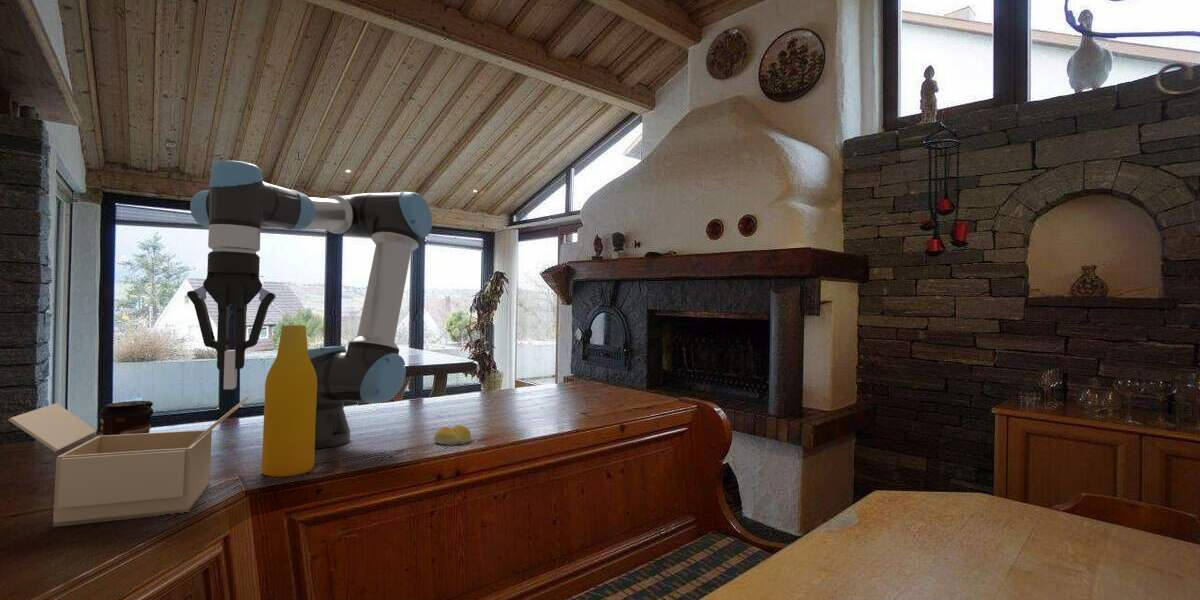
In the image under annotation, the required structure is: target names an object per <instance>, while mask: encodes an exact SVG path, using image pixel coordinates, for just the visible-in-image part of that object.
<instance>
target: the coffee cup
mask: <svg viewBox="0 0 1200 600" xmlns="http://www.w3.org/2000/svg"><path fill="white" fill-rule="evenodd" d="M153 405H154V403H153V402H152V401H151V400H129V401H118V402H112V403H108V404H106V405H105V406H104V408H103V410H101V411H100V412H99V413H98V414H97V417H98V418H99V421H100V436H105V435H123V434H142V433H150V431H151V427H152V425H151V423H150V422H151V419H152V418H151V416H152V415H153V414H154V409H153V408H152V407H153Z"/></svg>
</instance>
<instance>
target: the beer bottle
mask: <svg viewBox="0 0 1200 600" xmlns="http://www.w3.org/2000/svg"><path fill="white" fill-rule="evenodd" d="M280 329H281V330H280V336H279V340H278V341H279V342H278V349H277V354H276V357H275V358H274V361H273V363H272V364H271V366H270V367H269V370H268V372H267V375H266V379H265V383H264V384H265V385H264V403H263V406H264V407H263V429H262V430H263V432H262V452H261V472H262V474H263V475H264V476H266V477H273V478H282V477H283V478H284V477H293V476H298V475H303V474H306V473H308V472H310V471H312V470H313V469H314V466H315V460H316V457H315V456H316V454H315V453H316V452H315V449H316V448H315V425H316V400H317V376H316V372H315V369H314V367H313V365H312V363H311V361H310V359H309V355H308V349H309V348H308V337H307V335H308V334H307V326H306V325H305V324H303V325H302V324H301V325H299V324H297V325H296V324H284V325H282V326H281V328H280Z"/></svg>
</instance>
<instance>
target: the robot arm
mask: <svg viewBox="0 0 1200 600" xmlns="http://www.w3.org/2000/svg"><path fill="white" fill-rule="evenodd" d="M209 179H210V180H209V184H208V188H209V189H206V190H204V189H203V190H200V191H198V192H196V193H194V195H193V197H192V198H191V200H190V204H189V205H190V208H189V209H190V213H191V216H192V219H194V221H195V222H196V223H197V224H198V225H200V226H201V227H204V228H207V229H208V239H207V240H208V241H207V245H208V248H209V249H211V250H212V251H209V253H207V268H206V269H207V270H206V272H207V273H206V274H207V275H206V278H205V279H204V281H203V283H202V286H199V287H197V288H196V289H194V290H189V291H187V293H186V297H188V298H189V300H190V301H191V303H192V304H193V306H194V310H195V313H196V317H197V321H198V326H199V329H200V332H201V336H202V340H203V344H204V346H205V347H207V348H210V349H213V350H215V351H216V353H217V354H216V368H217V369H218V370H223V390H235V389H236V388H237V386H238V385H237V384H238V383H237V382H238V370H242V369H244V366H245V363H246V362H245V358H246V357H245V356H246V350H247V349H248V348H251V347H255V346H256V345H257V344H258V342H259V338H260V335H261V332H262V331H263V330H262V328H263V325H264V323H265V320H266V316H267V313H268V310H269V307H270V305H271V304H272V303H273V302H274V300H275V299H276V293H273V292H270V291H268V290H267V289H265V288H263V283H262V281H261V280H260V259H261V258H260V256H259V255H258V252H259V251H260V250H261V230H262V229H278V230H279V229H280V230H281V229H285V230H294V231H295V230H298V231H301V230H327V231H328V232H329V233H331V234H335V235H336V234H337V235H350V236H357V237H363V238H370V239H371V240H372V242H373V243H374V244H375V247H374V248H375V249H374V253H373V257H372V258H373V259H372V261H371V262H372V263H371V268H370V273H369V277H368V282H367V287H366V293H365V296H364V302H363V306H362V309H361V310H362V311H361V316H360V321H359V325H358V330H357V333H356V334H357V335H356V337H354V338H353V339H351V340H350V341H348V345H347V348H346V346H344V345H339V346H338V345H334V346H323V347H314V348H308V355H309V359H310V361H311V363H312V365H313V367H314V369H315V372H316V376H317V400H316V425H315V449H324V448H325V449H326V448H330V447H337V446H340V445H341V446H342V445H344V444H346V443H348V442H350V441H351V429H350V426H349V423H348V419H347V417H346V412H345V408H344V406H345V405H344V404H345V403H344V402H355V403H356V402H359V403H366V404H373V403H386V402H389V401H391V400H392V399H394V398H395V396H396V395H398V393H400V390H401V389H402V388H403V384H404V382H405V379H406V373H407V368H406V367H405V365H406V362H405V359H404V358H403V356H401V355H400V348H399V346H398V345H397V344H396V343H395V339H396V334H397V330H398V329H397V328H398V324H399V318H400V314H401V307H402V303H403V298H404V292H405V286H406V282H407V281H406V280H407V276H408V270H409V264H410V259H411V256H412V255H411V254H412V252H414V251H415V250H417V249H418V248H419V246H420V240H421V238H422V239H423V238H427V237H428V236H429V235H430V234H431V232H432V229H433V228H432V227H433V218H432V212H431V209H430V206H429V204H428V202H427V200H426V199H425V198H424V197H423V195H421V194H420V193H418V192H413V191H412V192H411V191H400V192H399V191H398V192H367V193H356V194H350V195H349V194H348V195H347V194H346V195H329V196H328V197H326V198H325V197H324V198H323V197H322V198H321V197H312V196H310V197H309V196H308V195H306V194H305V193H303V192H300V191H297V190H295V189H289V188H285V187H282V186H278V185H276V184H271V183H268V182H265V181H264V177H263V170H262V169H261V168H260V167H259V166H257V165H256V164H253V163H251V162H250V163H249V162H245V161H239V160H219V161H218V160H217V161H215V162H214V163H213V164H212V166H211V171H210V177H209ZM207 293H208V294H209V296H210V297H211V298H212V299H213V300H214V302H215V303H216V304H217V332H216V333H217V337H216V338H215V334H214V330H213V327H212V322H211V319H210V315H209V311H208V307H207V304H206V299H207ZM258 294H259V297H258V300H259V301H260V303H259V305H258V308H257V311H256V314H255V318H254V321H253V324H252V327H251V329H250V330H251V331H250V333H249V337H248V339H246V337H247V335H246V334H247V312H248V304H251V301H252V300H253V299H255V297H256V296H258ZM233 305H234V306H235V331H234V332H235V334H234V335H235V338H234V339H235V340H234V342H235V343H234V349H229V325H230V324H229V323H230V322H229V321H230V309H231V306H233Z"/></svg>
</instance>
